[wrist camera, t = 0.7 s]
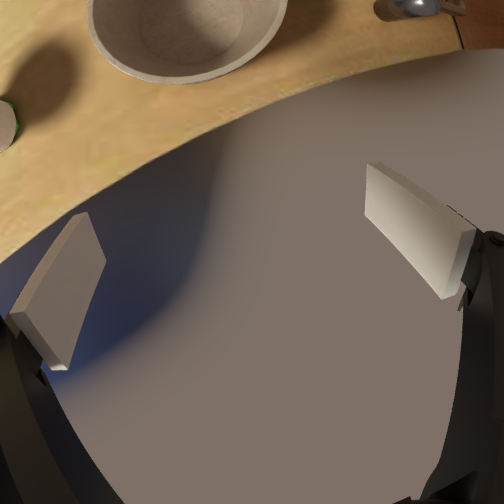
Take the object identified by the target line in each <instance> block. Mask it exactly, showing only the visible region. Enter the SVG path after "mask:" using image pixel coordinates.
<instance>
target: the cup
mask: <svg viewBox="0 0 504 504" xmlns="http://www.w3.org/2000/svg"><path fill="white" fill-rule="evenodd" d="M18 129H19V124H18V122H17V121H16V118H15V114H14V111H13V105H12V104H11V103H8V102H4V101H1V100H0V153H1V152H3V151H5V150H6V149H7V148H8V147H9V146H10V144H11V143H12V141H13V138H14V136H15V134H16V132H17V130H18Z"/></svg>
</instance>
